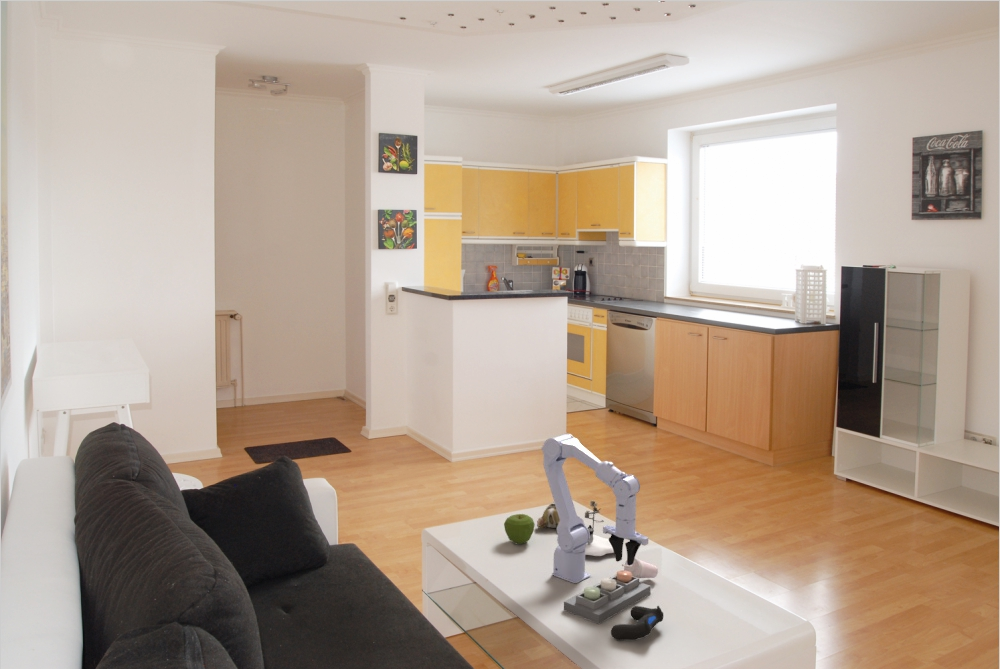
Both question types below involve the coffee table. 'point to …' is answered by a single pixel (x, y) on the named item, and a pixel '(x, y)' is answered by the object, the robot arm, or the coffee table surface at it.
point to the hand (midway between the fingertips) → (624, 562)
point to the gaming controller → (638, 624)
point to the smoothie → (641, 569)
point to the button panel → (607, 600)
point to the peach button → (624, 576)
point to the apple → (519, 528)
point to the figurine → (596, 538)
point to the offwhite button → (608, 584)
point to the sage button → (592, 593)
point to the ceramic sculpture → (549, 517)
